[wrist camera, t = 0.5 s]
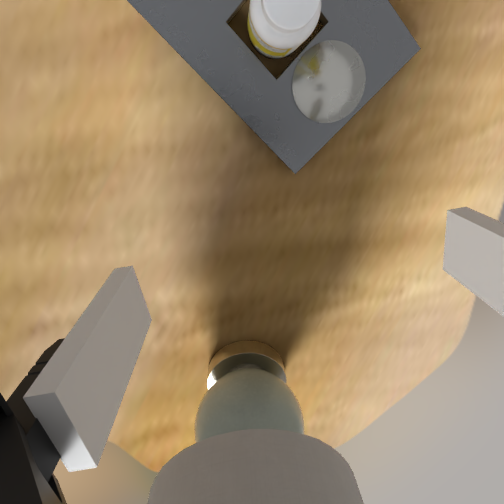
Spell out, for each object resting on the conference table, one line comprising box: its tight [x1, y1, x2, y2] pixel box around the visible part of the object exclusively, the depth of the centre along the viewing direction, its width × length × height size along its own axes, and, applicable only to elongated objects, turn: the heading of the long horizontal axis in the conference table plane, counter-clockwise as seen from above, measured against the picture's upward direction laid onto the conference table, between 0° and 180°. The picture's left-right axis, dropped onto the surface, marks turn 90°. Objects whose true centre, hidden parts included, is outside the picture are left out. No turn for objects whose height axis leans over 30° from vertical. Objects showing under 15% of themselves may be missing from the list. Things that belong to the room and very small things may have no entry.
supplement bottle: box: [247, 0, 321, 59], centre depth 27 cm, size 5×5×10 cm
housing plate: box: [127, 0, 421, 174], centre depth 30 cm, size 22×16×2 cm
